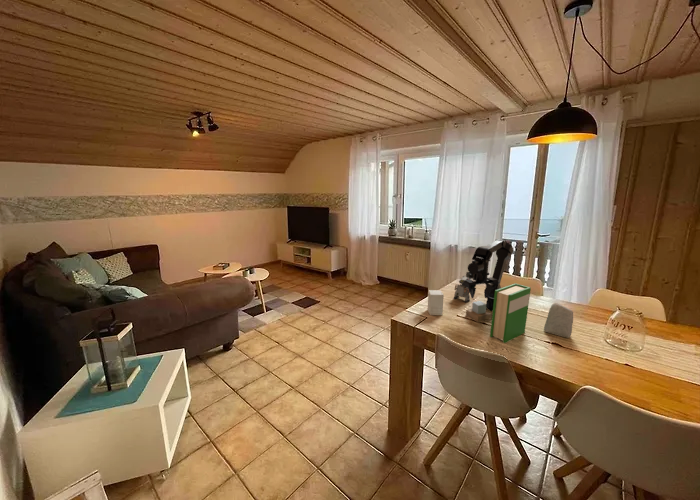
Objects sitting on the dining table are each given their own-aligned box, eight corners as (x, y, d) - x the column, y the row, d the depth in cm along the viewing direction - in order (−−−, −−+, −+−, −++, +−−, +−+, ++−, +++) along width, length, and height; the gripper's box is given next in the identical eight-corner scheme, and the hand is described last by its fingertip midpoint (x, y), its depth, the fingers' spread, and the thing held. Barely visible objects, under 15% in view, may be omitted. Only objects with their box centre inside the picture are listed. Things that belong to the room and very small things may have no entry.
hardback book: (504, 343, 132) (510, 295, 127) (489, 336, 138) (494, 290, 133) (524, 332, 141) (530, 287, 136) (509, 326, 148) (515, 283, 142)
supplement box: (439, 310, 168) (441, 290, 165) (442, 315, 161) (444, 294, 158) (427, 309, 169) (428, 289, 166) (429, 315, 162) (430, 294, 159)
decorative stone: (572, 336, 138) (577, 307, 135) (568, 340, 134) (573, 311, 131) (546, 327, 146) (550, 300, 143) (542, 331, 142) (546, 303, 139)
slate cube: (479, 309, 160) (480, 300, 159) (485, 312, 155) (486, 304, 154) (471, 310, 159) (472, 302, 158) (477, 314, 154) (478, 305, 153)
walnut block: (478, 313, 164) (478, 307, 163) (490, 320, 156) (491, 313, 155) (465, 316, 161) (466, 309, 160) (477, 323, 153) (478, 316, 152)
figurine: (474, 299, 183) (476, 277, 180) (464, 303, 177) (466, 280, 173) (462, 295, 191) (463, 273, 187) (451, 299, 184) (453, 277, 181)
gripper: (486, 264, 162) (484, 290, 166) (457, 267, 158) (455, 293, 162) (500, 270, 152) (497, 297, 155) (470, 273, 148) (468, 301, 151)
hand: (479, 297), depth 156 cm, fingers open, 9 cm apart
